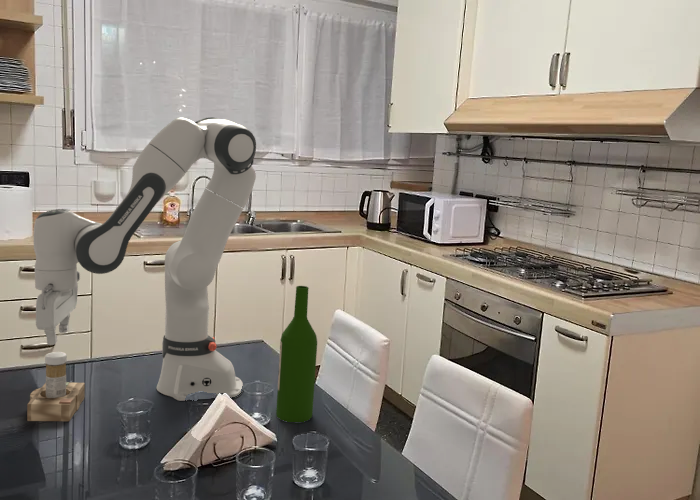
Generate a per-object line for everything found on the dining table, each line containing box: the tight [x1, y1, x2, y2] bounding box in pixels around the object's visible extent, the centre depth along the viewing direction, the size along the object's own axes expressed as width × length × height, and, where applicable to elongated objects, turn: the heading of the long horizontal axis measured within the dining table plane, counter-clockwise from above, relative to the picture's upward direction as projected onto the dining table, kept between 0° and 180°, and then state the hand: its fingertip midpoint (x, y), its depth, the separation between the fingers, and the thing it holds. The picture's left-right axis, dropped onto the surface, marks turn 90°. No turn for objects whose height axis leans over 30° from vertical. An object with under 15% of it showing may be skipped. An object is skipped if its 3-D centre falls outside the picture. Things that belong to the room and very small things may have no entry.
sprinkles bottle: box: [44, 351, 68, 398], centre depth 154 cm, size 5×5×14 cm
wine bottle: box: [275, 285, 318, 423], centre depth 158 cm, size 9×9×32 cm
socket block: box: [26, 381, 86, 422], centre depth 154 cm, size 10×14×4 cm
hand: (58, 337), depth 152 cm, fingers open, 8 cm apart
